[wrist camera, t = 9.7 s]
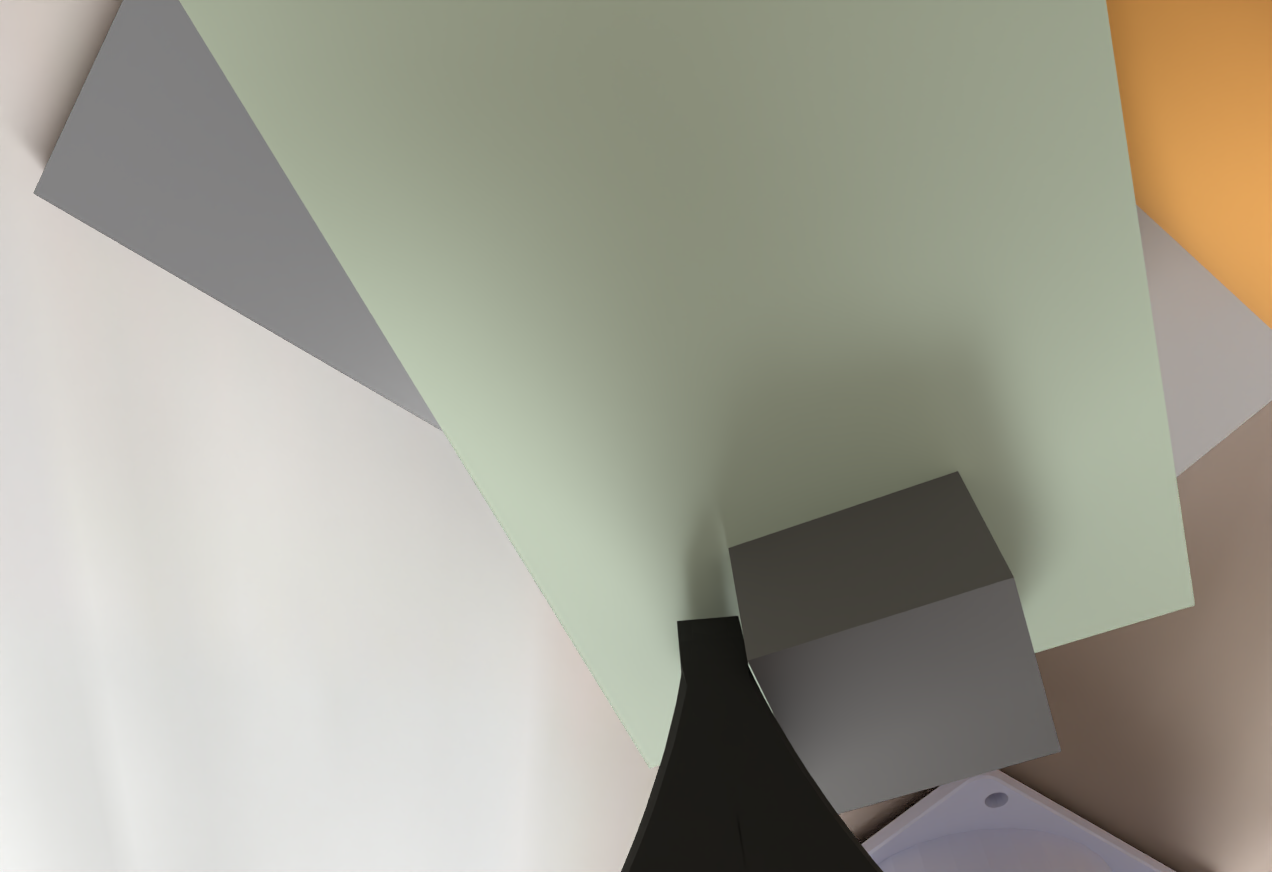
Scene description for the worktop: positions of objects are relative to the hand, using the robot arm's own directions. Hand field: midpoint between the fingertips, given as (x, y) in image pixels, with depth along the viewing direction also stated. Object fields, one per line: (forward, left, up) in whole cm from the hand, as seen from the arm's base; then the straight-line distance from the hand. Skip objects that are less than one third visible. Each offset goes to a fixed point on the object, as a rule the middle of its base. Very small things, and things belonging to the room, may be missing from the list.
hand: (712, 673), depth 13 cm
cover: (+4, -5, -1) cm, 6 cm away
